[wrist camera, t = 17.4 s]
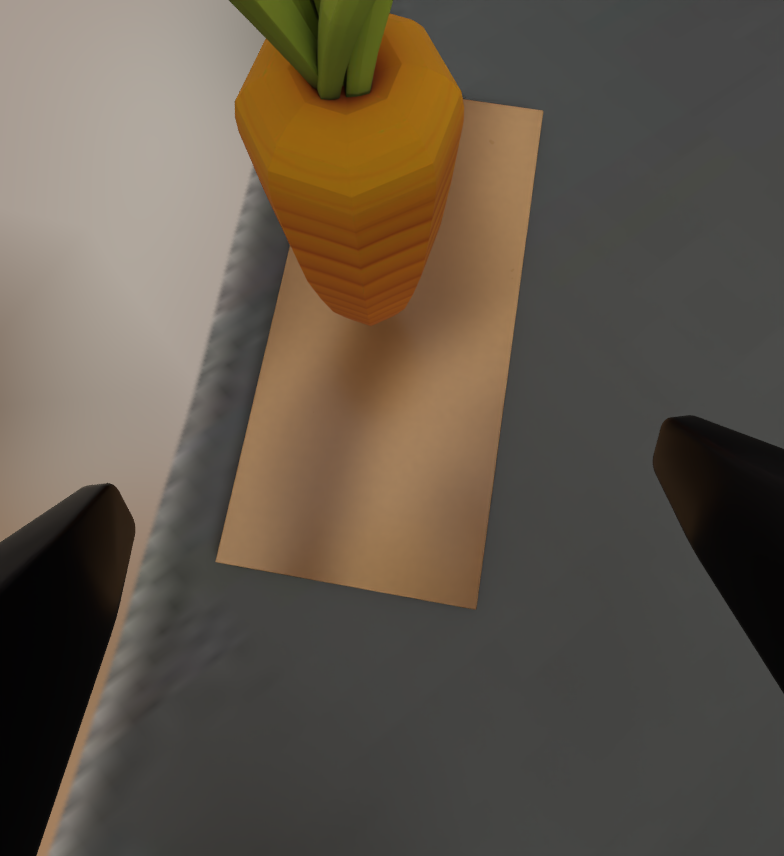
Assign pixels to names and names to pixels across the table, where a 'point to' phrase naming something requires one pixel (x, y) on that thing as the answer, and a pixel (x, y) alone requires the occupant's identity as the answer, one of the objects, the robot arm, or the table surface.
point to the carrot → (351, 144)
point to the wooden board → (394, 400)
